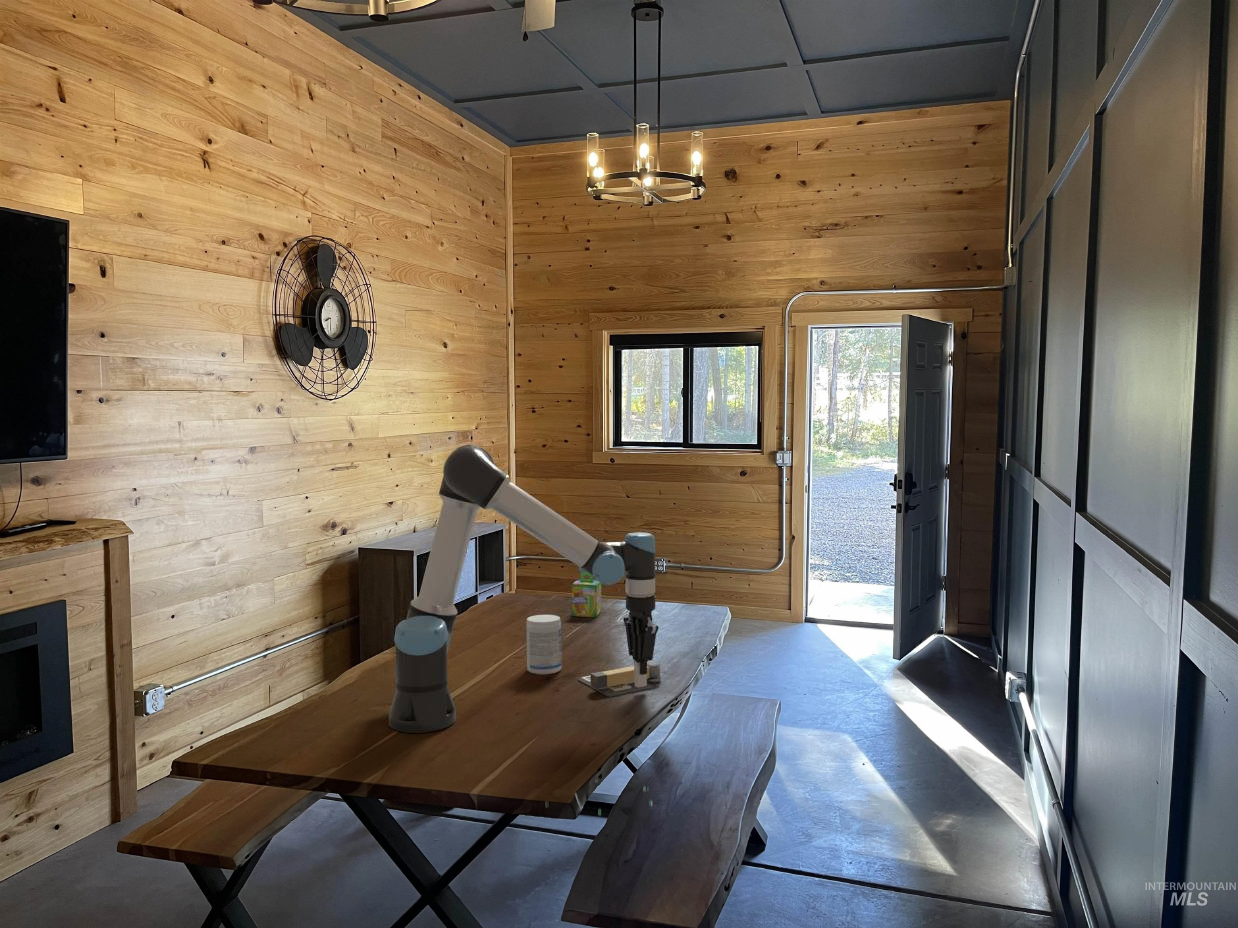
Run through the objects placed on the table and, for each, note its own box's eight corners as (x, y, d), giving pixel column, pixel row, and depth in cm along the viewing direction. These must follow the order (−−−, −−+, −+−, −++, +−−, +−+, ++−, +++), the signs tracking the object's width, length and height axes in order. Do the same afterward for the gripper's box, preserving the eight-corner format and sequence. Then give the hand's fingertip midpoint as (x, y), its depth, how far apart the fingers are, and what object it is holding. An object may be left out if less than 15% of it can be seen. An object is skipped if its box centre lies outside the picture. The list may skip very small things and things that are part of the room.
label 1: (588, 683, 229) (588, 680, 229) (581, 679, 233) (581, 676, 233) (604, 680, 232) (604, 677, 232) (597, 676, 235) (597, 673, 235)
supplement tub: (567, 671, 240) (567, 619, 239) (537, 677, 235) (536, 623, 234) (550, 663, 248) (550, 612, 247) (520, 668, 243) (520, 616, 242)
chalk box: (571, 616, 304) (570, 574, 303) (576, 610, 313) (576, 570, 312) (596, 617, 303) (596, 575, 302) (601, 611, 312) (601, 570, 311)
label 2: (614, 692, 222) (614, 689, 222) (606, 688, 225) (606, 685, 225) (631, 689, 224) (631, 686, 224) (623, 685, 228) (623, 682, 228)
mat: (608, 697, 219) (608, 695, 219) (578, 680, 232) (578, 678, 232) (655, 687, 226) (655, 686, 226) (622, 672, 239) (622, 670, 239)
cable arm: (597, 689, 220) (597, 676, 220) (589, 685, 224) (589, 672, 223) (662, 676, 231) (662, 664, 231) (654, 672, 234) (654, 661, 234)
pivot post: (650, 684, 228) (650, 680, 228) (640, 680, 232) (640, 675, 232) (663, 681, 231) (663, 677, 231) (654, 677, 234) (654, 673, 234)
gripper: (667, 597, 217) (667, 690, 218) (639, 588, 228) (639, 676, 229) (642, 600, 213) (642, 695, 214) (614, 591, 224) (614, 681, 225)
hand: (640, 685), depth 222 cm, fingers closed
